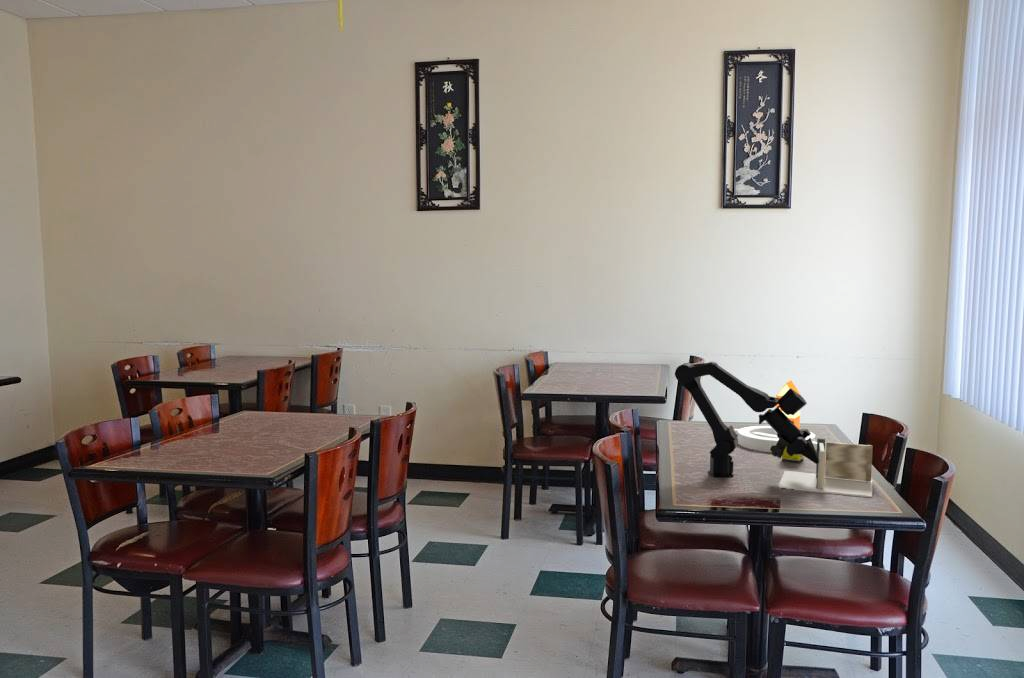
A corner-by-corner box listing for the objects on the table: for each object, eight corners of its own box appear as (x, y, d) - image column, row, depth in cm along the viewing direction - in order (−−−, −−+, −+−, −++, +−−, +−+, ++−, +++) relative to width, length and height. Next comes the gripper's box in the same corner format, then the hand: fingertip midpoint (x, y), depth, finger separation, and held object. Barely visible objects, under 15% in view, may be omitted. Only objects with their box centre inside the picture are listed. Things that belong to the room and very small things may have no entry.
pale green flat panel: (818, 487, 262) (819, 451, 261) (817, 477, 274) (818, 442, 273) (824, 488, 261) (825, 452, 260) (823, 477, 274) (824, 442, 273)
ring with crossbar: (825, 454, 312) (826, 441, 311) (747, 453, 312) (748, 440, 312) (801, 437, 340) (801, 426, 339) (729, 437, 340) (730, 425, 340)
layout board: (778, 488, 265) (778, 486, 265) (784, 472, 284) (784, 470, 284) (871, 497, 255) (872, 495, 254) (872, 480, 274) (872, 478, 274)
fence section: (815, 479, 275) (816, 439, 274) (816, 477, 277) (817, 437, 276) (870, 484, 269) (872, 443, 267) (871, 483, 271) (872, 442, 270)
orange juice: (799, 429, 354) (801, 381, 352) (794, 433, 347) (796, 383, 345) (780, 427, 358) (782, 379, 356) (774, 431, 351) (776, 382, 349)
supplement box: (803, 460, 301) (804, 429, 300) (798, 463, 296) (799, 432, 295) (786, 457, 305) (787, 427, 304) (781, 461, 300) (782, 430, 299)
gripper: (766, 436, 283) (801, 472, 280) (758, 447, 266) (795, 485, 263) (792, 413, 279) (827, 450, 276) (786, 423, 262) (823, 462, 259)
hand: (818, 462), depth 268 cm, fingers closed
